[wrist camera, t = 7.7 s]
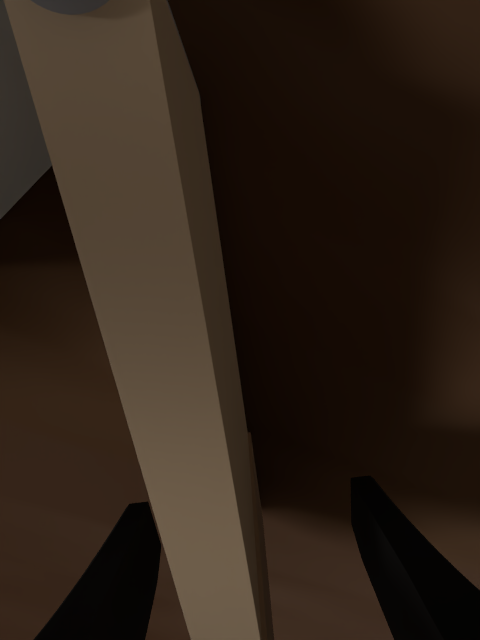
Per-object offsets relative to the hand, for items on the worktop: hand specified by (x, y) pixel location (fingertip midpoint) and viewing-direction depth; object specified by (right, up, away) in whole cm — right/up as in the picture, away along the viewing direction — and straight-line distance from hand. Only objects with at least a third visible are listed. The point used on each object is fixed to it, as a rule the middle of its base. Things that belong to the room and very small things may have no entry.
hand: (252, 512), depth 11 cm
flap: (-1, +6, 0) cm, 6 cm away
